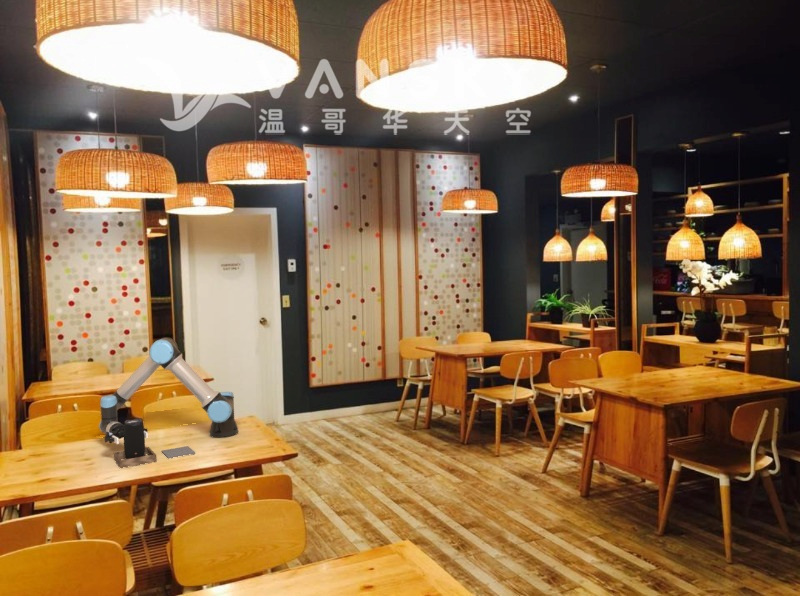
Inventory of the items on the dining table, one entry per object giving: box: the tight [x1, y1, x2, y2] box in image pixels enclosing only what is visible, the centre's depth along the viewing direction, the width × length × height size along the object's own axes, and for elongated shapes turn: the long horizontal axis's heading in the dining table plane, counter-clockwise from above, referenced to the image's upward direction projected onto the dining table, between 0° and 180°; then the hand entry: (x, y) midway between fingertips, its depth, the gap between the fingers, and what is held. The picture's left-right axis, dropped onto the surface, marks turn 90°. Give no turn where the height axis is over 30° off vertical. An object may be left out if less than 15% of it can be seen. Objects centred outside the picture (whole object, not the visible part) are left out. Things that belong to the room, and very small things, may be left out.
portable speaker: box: [123, 418, 146, 460], centre depth 304 cm, size 9×9×20 cm
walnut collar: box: [113, 446, 158, 469], centre depth 305 cm, size 16×16×4 cm
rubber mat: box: [161, 445, 196, 459], centre depth 316 cm, size 13×13×1 cm
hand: (132, 438), depth 305 cm, fingers open, 13 cm apart
